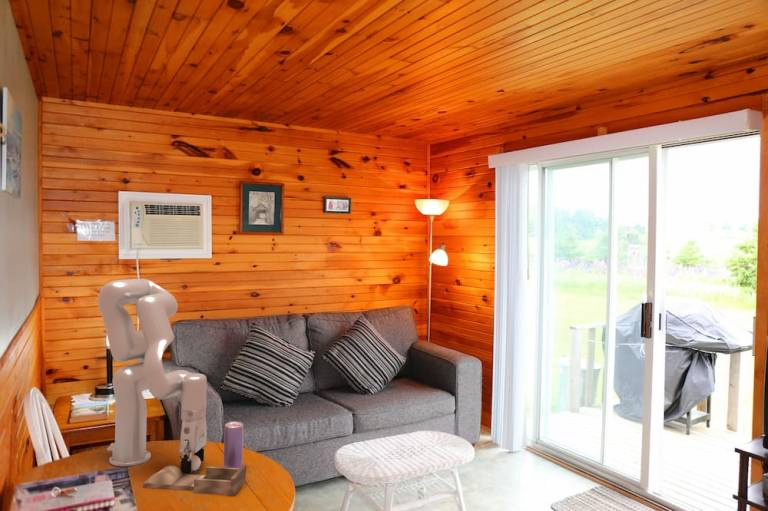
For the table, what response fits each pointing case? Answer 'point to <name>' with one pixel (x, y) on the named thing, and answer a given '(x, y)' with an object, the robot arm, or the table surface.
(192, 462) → the ball
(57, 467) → the table surface
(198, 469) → the grey piece
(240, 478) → the lane
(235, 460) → the beverage can
